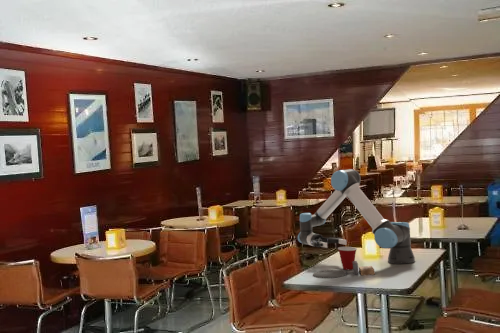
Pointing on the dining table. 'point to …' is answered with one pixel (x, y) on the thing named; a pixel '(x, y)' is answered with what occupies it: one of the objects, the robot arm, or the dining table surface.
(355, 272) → the bench dog
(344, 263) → the plastic cup
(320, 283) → the dining table surface
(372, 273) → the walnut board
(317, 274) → the mat
